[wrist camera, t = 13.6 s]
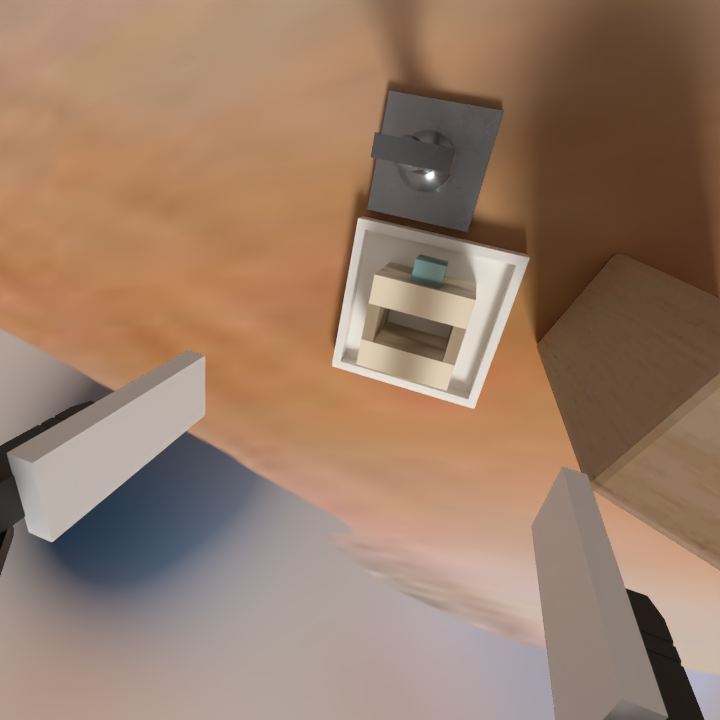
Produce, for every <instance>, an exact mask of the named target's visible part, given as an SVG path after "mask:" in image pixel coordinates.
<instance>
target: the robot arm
mask: <svg viewBox="0 0 720 720" xmlns="http://www.w3.org/2000/svg"><path fill="white" fill-rule="evenodd" d="M203 416H205V356H204V355H201V354H198V353H195V352H192V351H188V350H187V351H185V352H184V353H182V354H180V355H178V356H177V357H175V358H173V359H171V360H169V361H168V362H166V363H164V364H162V365H161V366H159V367H157V368H155V369H154V370H152V371H150V372H148V373H147V374H145V375H143V376H141V377H140V378H138V379H136V380H134V381H132V382H131V383H129V384H127V385H125V386H124V387H122V388H120V389H118V390H117V391H115V392H113V393H111V394H110V395H108V396H106V397H104V398H103V399H101V400H99V401H97V402H93V401H89V402H86V403H83V404H80V405H76V406H73V407H70V408H69V409H67V410H65V411H63V412H61V413H59V414H58V415H56V416H55V418H50V419H48V420H47V421H45V422H43V423H42V424H41V425H40V426H39V425H38V426H36V427H34V428H32V429H30V430H28V431H26V432H25V433H23V434H21V435H19V436H18V437H15V438H14V439H12V440H10V441H8V442H6V443H4V444H3V445H1V446H0V575H1V572H2V569H3V566H4V562H5V560H6V556H7V553H8V551H9V548H10V545H11V542H12V539H13V535H14V528H13V525H14V524H15V523H16V522H18V521H19V520H21V519H22V518H23V517H25V520H26V524H27V527H28V531H29V532H30V533H32V534H34V535H36V536H39V537H41V538H43V539H45V540H48V541H50V542H53V541H54V540H55V539H57V538H58V537H59V536H60V535H61V534H63V533H64V532H65V531H66V530H67V529H69V528H70V527H71V526H72V525H73V524H74V523H76V522H77V521H78V520H79V519H80V518H82V517H83V516H84V515H85V514H86V513H88V512H89V511H90V510H91V509H93V508H94V507H95V506H96V505H97V504H98V503H100V502H101V501H102V500H103V499H105V498H106V497H107V496H108V495H109V494H111V493H112V492H113V491H114V490H115V489H117V488H118V487H119V486H120V485H121V484H123V483H124V482H125V481H126V480H127V479H129V478H130V477H131V476H132V475H133V474H135V473H136V472H137V471H138V470H140V469H141V468H142V467H143V466H144V465H145V464H146V463H148V462H149V461H150V460H152V459H153V458H154V457H155V456H156V455H158V454H159V453H160V452H161V451H162V450H163V449H165V448H166V447H167V446H168V445H170V444H171V443H172V442H173V441H174V440H175V439H177V438H178V437H179V436H180V435H182V434H183V433H184V432H185V431H186V430H188V429H189V428H190V427H191V426H192V425H194V424H195V423H196V422H197V421H199V420H200V419H201V418H202V417H203ZM532 534H533V542H534V550H535V558H536V566H537V575H538V583H539V591H540V599H541V607H542V615H543V623H544V631H545V639H546V647H547V655H548V663H549V671H550V679H551V687H552V695H553V703H554V712H555V719H556V720H704V717H703V715H702V712H701V710H700V707H699V705H698V703H697V700H696V697H695V695H694V692H693V690H692V687H691V685H690V682H689V680H688V677H687V675H686V672H685V670H684V667H683V666H681V660H680V657H679V655H678V652H677V650H676V647H674V646H673V640H672V637H671V635H670V632H669V630H668V627H667V625H666V622H665V620H664V618H663V617H662V615H661V614H660V613H659V611H658V610H657V609H656V607H655V606H654V604H653V603H652V602H651V600H650V599H649V598H648V596H646V595H643V594H640V593H637V592H634V591H631V590H629V589H626V588H625V586H624V583H623V580H622V577H621V574H620V571H619V568H618V565H617V562H616V559H615V556H614V553H613V550H612V547H611V544H610V541H609V538H608V535H607V532H606V529H605V526H604V523H603V520H602V517H601V514H600V511H599V508H598V505H597V502H596V499H595V496H594V493H593V490H592V487H591V484H590V481H589V478H588V475H587V474H584V473H581V472H578V471H575V470H571V469H568V468H565V467H562V468H561V470H560V472H559V474H558V476H557V478H556V480H555V482H554V484H553V486H552V488H551V490H550V491H549V493H548V495H547V497H546V499H545V501H544V503H543V505H542V507H541V509H540V511H539V513H538V515H537V517H536V518H535V520H534V522H533V524H532Z"/></svg>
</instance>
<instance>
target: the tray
mask: <svg viewBox="0 0 720 720" xmlns="http://www.w3.org/2000/svg"><path fill="white" fill-rule="evenodd" d="M419 255H425V256H429V257H433V258H437V259H441V260H445V261H449V262H448V266H447V269H446V273H445V276H448V277H452V278H456V279H460V280H464V281H468V282H472V283H476V284H477V286H476V302H475V305H474V308H473V311H472V314H471V317H470V320H469V323H468V326H467V329H466V332H465V335H464V339H463V342H462V345H461V348H460V351H459V354H458V357H457V360H456V363H455V366H454V369H453V372H452V376H451V379H450V382H449V385H448V388H447V391H445V390H442V389H439V388H435V387H432V386H428V385H425V384H422V383H418V382H415V381H411V380H408V379H405V378H401V377H398V376H395V375H391V374H388V373H384V372H381V371H378V370H374V369H371V368H367V367H364V366H361V365H357V364H356V362H357V357H358V353H359V348H360V343H361V338H362V333H363V328H364V323H365V318H366V314H367V309H368V304H369V299H370V294H371V289H372V284H373V279H374V275H375V274H376V273H377V272H378V271H379V270H381V269H382V268H383V267H384V266H386V265H387V264H388V263H389V262H391V263H396V264H400V265H404V266H408V267H412V268H414V264H415V260H416V258H417V257H418V256H419ZM529 259H530V257H529V256H528V255H527V254H525V253H520V252H516V251H512V250H507V249H503V248H499V247H495V246H490V245H486V244H482V243H477V242H473V241H469V240H465V239H460V238H456V237H452V236H447V235H443V234H439V233H434V232H430V231H426V230H422V229H417V228H413V227H409V226H404V225H400V224H396V223H391V222H387V221H383V220H379V219H374V218H370V217H366V216H364V217H359V218H358V222H357V227H356V233H355V239H354V244H353V250H352V255H351V261H350V267H349V272H348V278H347V284H346V289H345V295H344V300H343V306H342V312H341V317H340V323H339V329H338V334H337V340H336V345H335V351H334V357H333V362H332V366H333V367H336V368H340V369H343V370H346V371H350V372H353V373H356V374H360V375H363V376H366V377H370V378H373V379H376V380H380V381H383V382H386V383H389V384H393V385H396V386H399V387H403V388H406V389H409V390H413V391H416V392H419V393H423V394H426V395H429V396H433V397H436V398H439V399H443V400H446V401H449V402H453V403H456V404H459V405H463V406H466V407H469V408H473V409H474V408H475V405H476V402H477V400H478V397H479V394H480V392H481V389H482V386H483V383H484V381H485V378H486V375H487V373H488V370H489V367H490V365H491V362H492V359H493V356H494V354H495V351H496V348H497V346H498V343H499V340H500V337H501V335H502V332H503V329H504V327H505V324H506V321H507V318H508V316H509V313H510V310H511V308H512V305H513V302H514V300H515V297H516V294H517V291H518V289H519V286H520V283H521V281H522V278H523V275H524V272H525V270H526V267H527V264H528V262H529ZM387 322H391V323H395V324H398V325H402V326H405V327H409V328H413V329H416V330H420V331H424V332H427V333H431V334H435V335H438V336H442V337H446V338H448V336H449V333H450V330H451V326H452V325H448V324H444V323H440V322H437V321H433V320H429V319H425V318H422V317H418V316H414V315H410V314H407V313H403V312H399V311H396V310H392V309H390V312H389V316H388V320H387Z"/></svg>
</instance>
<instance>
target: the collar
mask: <svg viewBox="0 0 720 720" xmlns="http://www.w3.org/2000/svg"><path fill="white" fill-rule="evenodd" d="M448 262H449V261H445V260H441V259H437V258H433V257H429V256H425V255H419V256H418V257H417V258H416V260H415V264H414V268H412V267H408V266H404V265H400V264H396V263H391V262H389V263H388V264H387V265H386V266H384V267H383V268H382V269H381V270H379V271H378V272H377V273H376V274H375V275H374V279H373V284H372V289H371V294H370V299H369V304H368V309H367V314H366V318H365V323H364V328H363V333H362V338H361V343H360V348H359V353H358V357H357V362H356V364H357V365H361V366H364V367H367V368H371V369H374V370H378V371H381V372H384V373H388V374H391V375H395V376H398V377H401V378H405V379H408V380H411V381H415V382H418V383H422V384H425V385H428V386H432V387H435V388H439V389H442V390H445V391H447V388H448V385H449V382H450V379H451V376H452V372H453V369H454V366H455V363H456V360H457V357H458V354H459V351H460V348H461V345H462V342H463V339H464V335H465V332H466V329H467V326H468V323H469V320H470V317H471V314H472V311H473V308H474V305H475V302H476V286H477V284H476V283H472V282H468V281H464V280H460V279H456V278H452V277H448V276H445V273H446V269H447V266H448ZM390 309H392V310H396V311H399V312H403V313H407V314H410V315H414V316H418V317H422V318H425V319H429V320H433V321H437V322H440V323H444V324H448V325H452V326H451V330H450V333H449V336H448V338H446V337H442V336H438V335H435V334H431V333H427V332H424V331H420V330H416V329H413V328H409V327H405V326H402V325H398V324H395V323H391V322H387V320H388V316H389V312H390Z"/></svg>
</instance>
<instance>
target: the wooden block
mask: <svg viewBox="0 0 720 720" xmlns="http://www.w3.org/2000/svg"><path fill="white" fill-rule="evenodd" d="M537 349H538V352H539V354H540V357H541V360H542V363H543V366H544V368H545V371H546V374H547V377H548V380H549V382H550V385H551V388H552V391H553V394H554V397H555V399H556V402H557V405H558V408H559V411H560V413H561V416H562V419H563V422H564V425H565V427H566V430H567V433H568V436H569V439H570V441H571V444H572V447H573V450H574V453H575V456H576V458H577V461H578V464H579V467H580V470H581V472H582V473H584V474H587V475H588V478H589V481H590V484H591V487H592V490H593V491H595V492H596V493H598V494H600V495H601V496H603V497H604V498H606V499H608V500H609V501H611V502H612V503H614V504H615V505H617V506H619V507H620V508H622V509H623V510H625V511H627V512H628V513H630V514H631V515H633V516H634V517H636V518H638V519H639V520H641V521H642V522H644V523H646V524H647V525H649V526H650V527H652V528H653V529H655V530H657V531H658V532H660V533H661V534H663V535H665V536H666V537H668V538H669V539H671V540H672V541H674V542H676V543H677V544H679V545H680V546H682V547H684V548H685V549H687V550H688V551H690V552H691V553H693V554H695V555H696V556H698V557H699V558H701V559H703V560H704V561H706V562H707V563H709V564H710V565H712V566H714V567H715V568H717V569H718V570H720V298H719V297H716V296H714V295H712V294H710V293H708V292H705V291H703V290H701V289H699V288H697V287H695V286H692V285H690V284H688V283H686V282H684V281H681V280H679V279H677V278H675V277H673V276H670V275H668V274H666V273H664V272H662V271H660V270H657V269H655V268H653V267H651V266H649V265H646V264H644V263H642V262H640V261H638V260H635V259H633V258H631V257H629V256H627V255H625V254H621V253H617V254H616V255H614V256H613V257H612V258H611V259H610V260H609V261H608V262H607V264H606V265H605V266H604V267H603V268H602V269H601V271H600V272H599V273H598V274H597V275H596V276H595V277H594V279H593V280H592V281H591V282H590V283H589V284H588V286H587V287H586V288H585V289H584V290H583V291H582V293H581V294H580V295H579V296H578V297H577V298H576V300H575V301H574V302H573V303H572V304H571V305H570V307H569V308H568V309H567V310H566V311H565V312H564V314H563V315H562V316H561V317H560V318H559V319H558V321H557V322H556V323H555V324H554V325H553V326H552V327H551V329H550V330H549V331H548V332H547V333H546V334H545V336H544V337H543V338H542V339H541V340H540V341H539V343H538V345H537Z"/></svg>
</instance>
